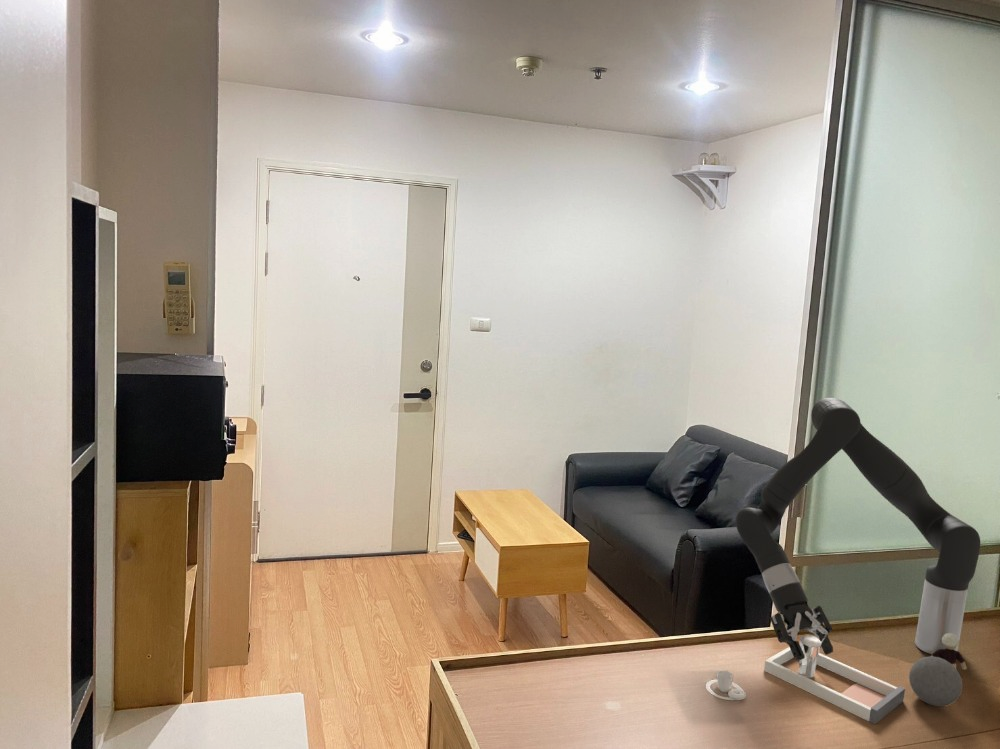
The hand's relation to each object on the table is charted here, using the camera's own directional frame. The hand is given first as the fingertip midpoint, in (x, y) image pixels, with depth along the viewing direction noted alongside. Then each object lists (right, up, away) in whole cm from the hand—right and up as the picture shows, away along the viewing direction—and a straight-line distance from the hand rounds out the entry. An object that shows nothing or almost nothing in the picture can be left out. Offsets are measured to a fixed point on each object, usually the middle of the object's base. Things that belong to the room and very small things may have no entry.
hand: (815, 656), depth 176 cm
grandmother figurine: (+29, -7, 0) cm, 30 cm away
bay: (+3, -6, -2) cm, 7 cm away
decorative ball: (+23, -8, -6) cm, 25 cm away
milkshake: (-1, -5, +2) cm, 5 cm away
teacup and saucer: (-24, -6, -9) cm, 26 cm away
